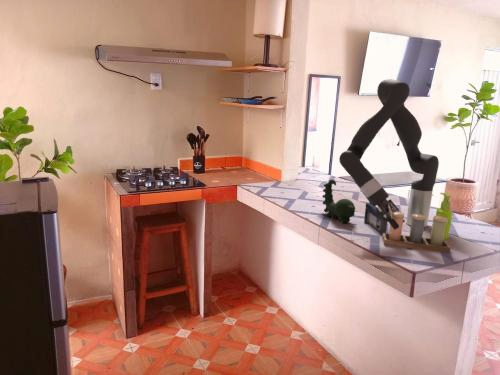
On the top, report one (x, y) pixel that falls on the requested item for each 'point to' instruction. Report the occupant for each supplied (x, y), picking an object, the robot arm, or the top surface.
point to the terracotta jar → (396, 233)
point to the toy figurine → (337, 204)
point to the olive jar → (438, 230)
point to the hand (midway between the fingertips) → (400, 225)
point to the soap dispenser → (445, 213)
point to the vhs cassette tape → (374, 219)
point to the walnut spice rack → (416, 244)
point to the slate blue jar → (417, 228)
